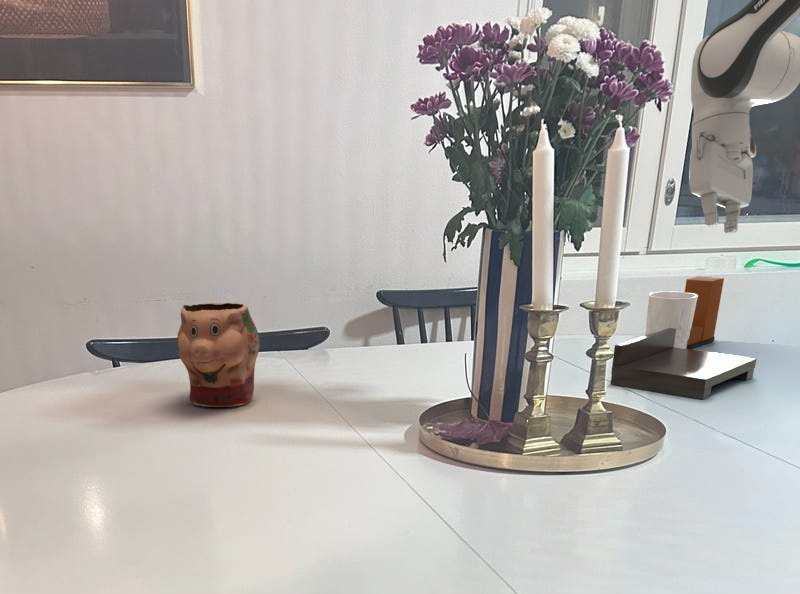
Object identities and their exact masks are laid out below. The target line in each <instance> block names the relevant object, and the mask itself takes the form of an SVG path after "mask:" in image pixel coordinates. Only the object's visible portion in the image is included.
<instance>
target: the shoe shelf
mask: <svg viewBox="0 0 800 594" xmlns="http://www.w3.org/2000/svg"><path fill="white" fill-rule="evenodd" d="M675 335H676V329H675V328H668V329H665V330H661V331H658V332H655V333H652V334H649V335H646V336H645V335H642V336H640V337H636V338H634V339H630V340H627V341H624V342H620V343H618V344H615V345H614V347H613V356H614V357H613V356H612V363H611V374H610V375H611V377H610V385H611V386H612V385H614V386H619V387H623V388H632V389H638V390H641V391H649V392H654V393H655V392H656V393H661V394H667V395H674V396H678V397H684V398H691V399H697V400H705V399H708V398H710V397H711V393H712V387H713V386H715V385H718V384H720V383H723V382H726V381H727V380H730V379H733V380H739V381H740V380H741V381H745V382H746V381H748V380H750V379H752V378H753V377H754V373H755V368H756V365H757V358H755V357H748V356H741V355H734V354H726V353H718V352H713V351H712V352H711V351H704V350H697V349H682V348H675V347H674V341H675Z"/></svg>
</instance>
